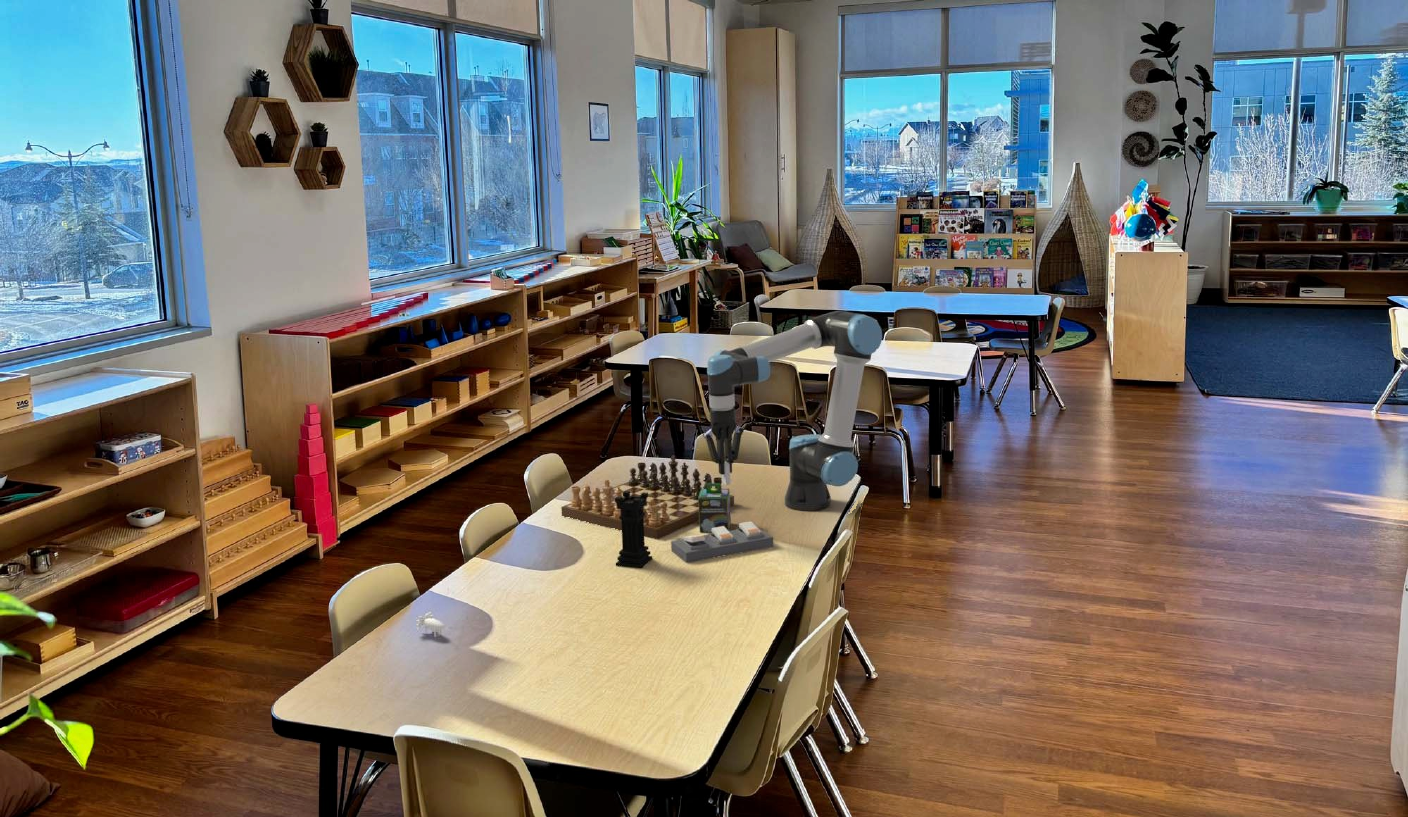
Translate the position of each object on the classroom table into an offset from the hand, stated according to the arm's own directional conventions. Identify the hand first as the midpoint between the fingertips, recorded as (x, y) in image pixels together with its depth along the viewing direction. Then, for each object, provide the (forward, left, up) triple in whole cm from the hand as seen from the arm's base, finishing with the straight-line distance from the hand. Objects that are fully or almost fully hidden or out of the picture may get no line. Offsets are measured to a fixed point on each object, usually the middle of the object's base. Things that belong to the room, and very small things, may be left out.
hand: (726, 483), depth 334 cm
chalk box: (0, -9, -17) cm, 19 cm away
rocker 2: (-3, +9, -12) cm, 16 cm away
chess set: (+12, -35, -17) cm, 41 cm away
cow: (+94, +31, -17) cm, 100 cm away
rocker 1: (+15, +9, -12) cm, 21 cm away
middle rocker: (+6, +9, -12) cm, 16 cm away
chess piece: (+33, +7, -17) cm, 38 cm away
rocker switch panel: (+6, +9, -17) cm, 20 cm away
